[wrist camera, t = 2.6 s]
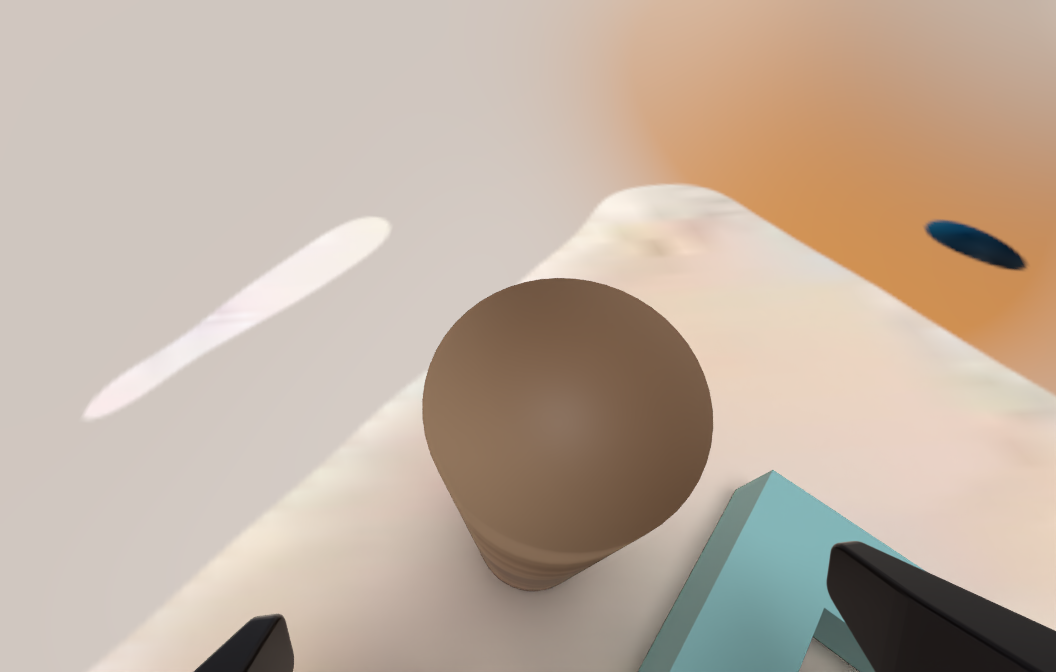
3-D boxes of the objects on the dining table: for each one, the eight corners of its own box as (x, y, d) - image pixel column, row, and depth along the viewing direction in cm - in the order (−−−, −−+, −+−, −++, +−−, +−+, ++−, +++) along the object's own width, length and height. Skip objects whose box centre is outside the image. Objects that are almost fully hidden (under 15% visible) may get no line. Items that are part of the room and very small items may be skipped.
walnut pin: (514, 617, 16) (522, 626, 5) (457, 510, 18) (373, 352, 7) (610, 547, 17) (775, 439, 7) (548, 453, 19) (598, 241, 8)
